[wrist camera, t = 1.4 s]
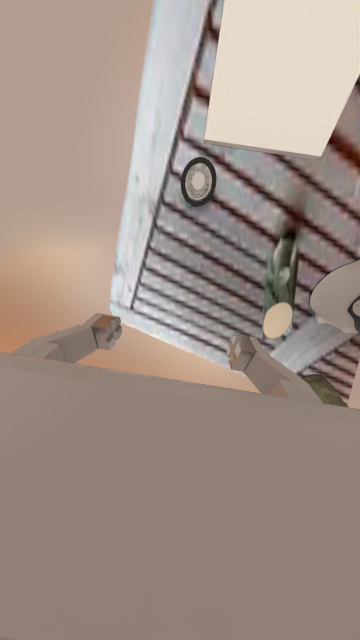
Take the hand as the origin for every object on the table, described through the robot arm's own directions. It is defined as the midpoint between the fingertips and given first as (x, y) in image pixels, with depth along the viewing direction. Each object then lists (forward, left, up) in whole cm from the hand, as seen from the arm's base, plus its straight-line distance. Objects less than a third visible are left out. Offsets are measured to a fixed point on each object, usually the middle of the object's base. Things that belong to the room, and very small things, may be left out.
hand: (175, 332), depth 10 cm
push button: (0, -13, -30) cm, 33 cm away
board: (-9, -27, -30) cm, 41 cm away
